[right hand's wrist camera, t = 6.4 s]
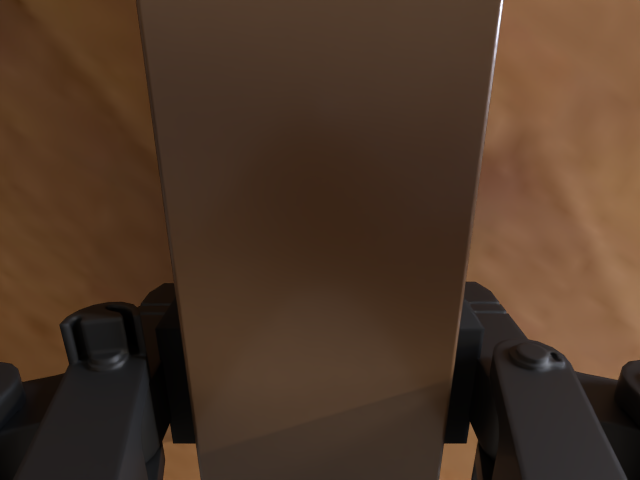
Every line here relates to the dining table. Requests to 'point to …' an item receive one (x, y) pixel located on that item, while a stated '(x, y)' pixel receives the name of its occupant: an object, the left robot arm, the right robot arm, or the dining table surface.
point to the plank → (319, 222)
